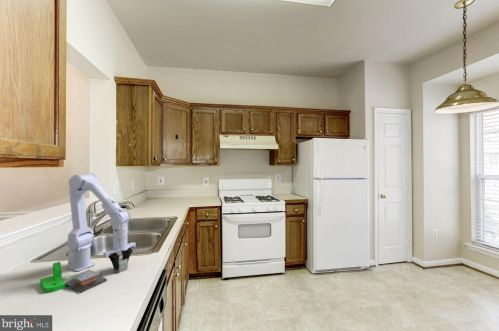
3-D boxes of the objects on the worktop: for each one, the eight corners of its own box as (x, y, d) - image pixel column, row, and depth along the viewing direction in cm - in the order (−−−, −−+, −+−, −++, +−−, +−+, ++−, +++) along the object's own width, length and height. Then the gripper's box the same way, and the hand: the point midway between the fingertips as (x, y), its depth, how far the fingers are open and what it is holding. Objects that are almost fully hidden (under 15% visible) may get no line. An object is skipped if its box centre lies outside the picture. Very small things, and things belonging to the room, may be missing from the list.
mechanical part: (40, 284, 97) (40, 264, 96) (58, 278, 101) (58, 260, 101) (45, 295, 89) (45, 274, 88) (65, 288, 93) (65, 268, 93)
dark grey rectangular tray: (63, 285, 95) (63, 276, 95) (89, 274, 104) (89, 267, 104) (80, 292, 90) (80, 283, 90) (106, 281, 99) (106, 272, 99)
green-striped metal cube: (113, 271, 108) (113, 260, 107) (121, 267, 111) (121, 257, 111) (119, 273, 106) (119, 261, 106) (127, 269, 109) (127, 258, 109)
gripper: (110, 244, 100) (110, 275, 100) (140, 234, 113) (140, 262, 113) (100, 241, 103) (100, 272, 103) (130, 232, 116) (130, 260, 116)
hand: (120, 267), depth 108 cm, fingers closed on green-striped metal cube, 4 cm apart
